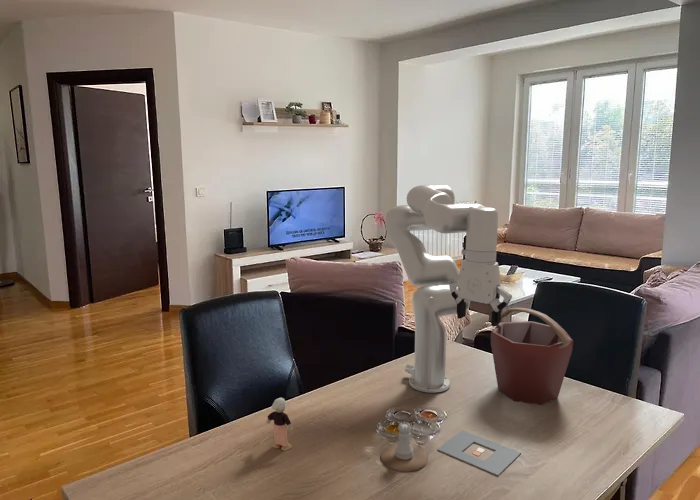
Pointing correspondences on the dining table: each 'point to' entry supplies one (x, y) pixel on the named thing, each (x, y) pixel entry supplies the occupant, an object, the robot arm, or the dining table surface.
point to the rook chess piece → (404, 442)
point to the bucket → (530, 358)
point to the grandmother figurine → (280, 424)
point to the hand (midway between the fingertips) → (477, 321)
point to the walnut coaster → (404, 465)
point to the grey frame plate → (492, 464)
